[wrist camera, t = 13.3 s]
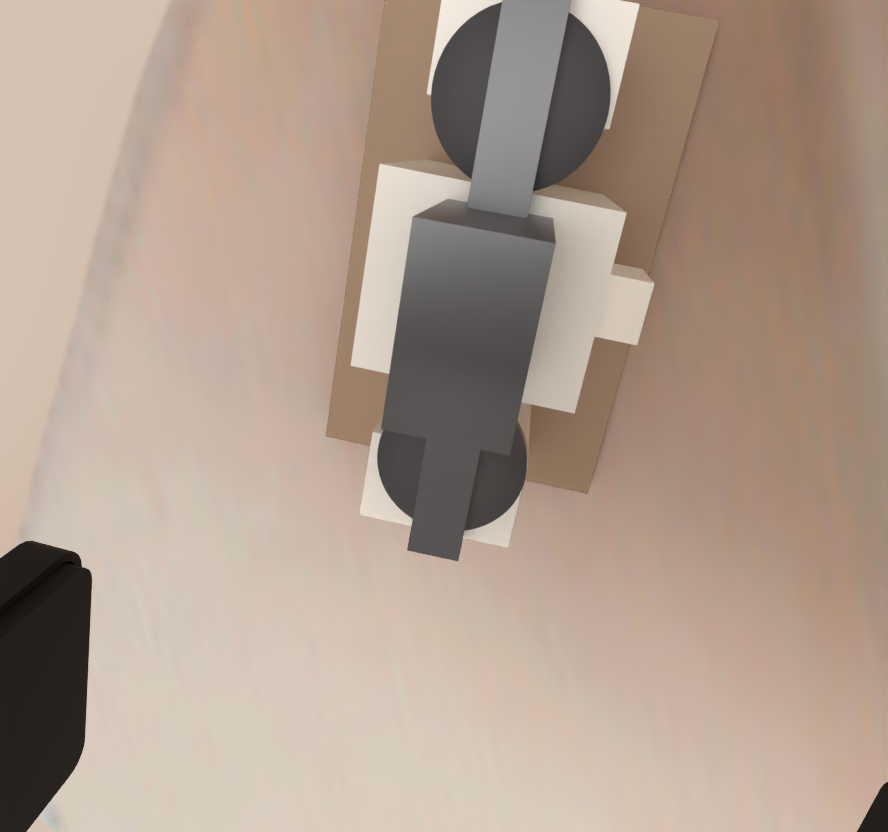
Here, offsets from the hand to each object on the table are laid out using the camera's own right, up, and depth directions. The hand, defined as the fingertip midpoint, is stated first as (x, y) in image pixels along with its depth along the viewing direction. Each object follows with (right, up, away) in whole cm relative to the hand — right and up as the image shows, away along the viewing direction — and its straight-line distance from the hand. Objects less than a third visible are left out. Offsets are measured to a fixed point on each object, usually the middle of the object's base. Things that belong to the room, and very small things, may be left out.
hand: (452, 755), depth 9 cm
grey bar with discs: (+1, +8, +13) cm, 15 cm away
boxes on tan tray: (+2, +11, +23) cm, 26 cm away
